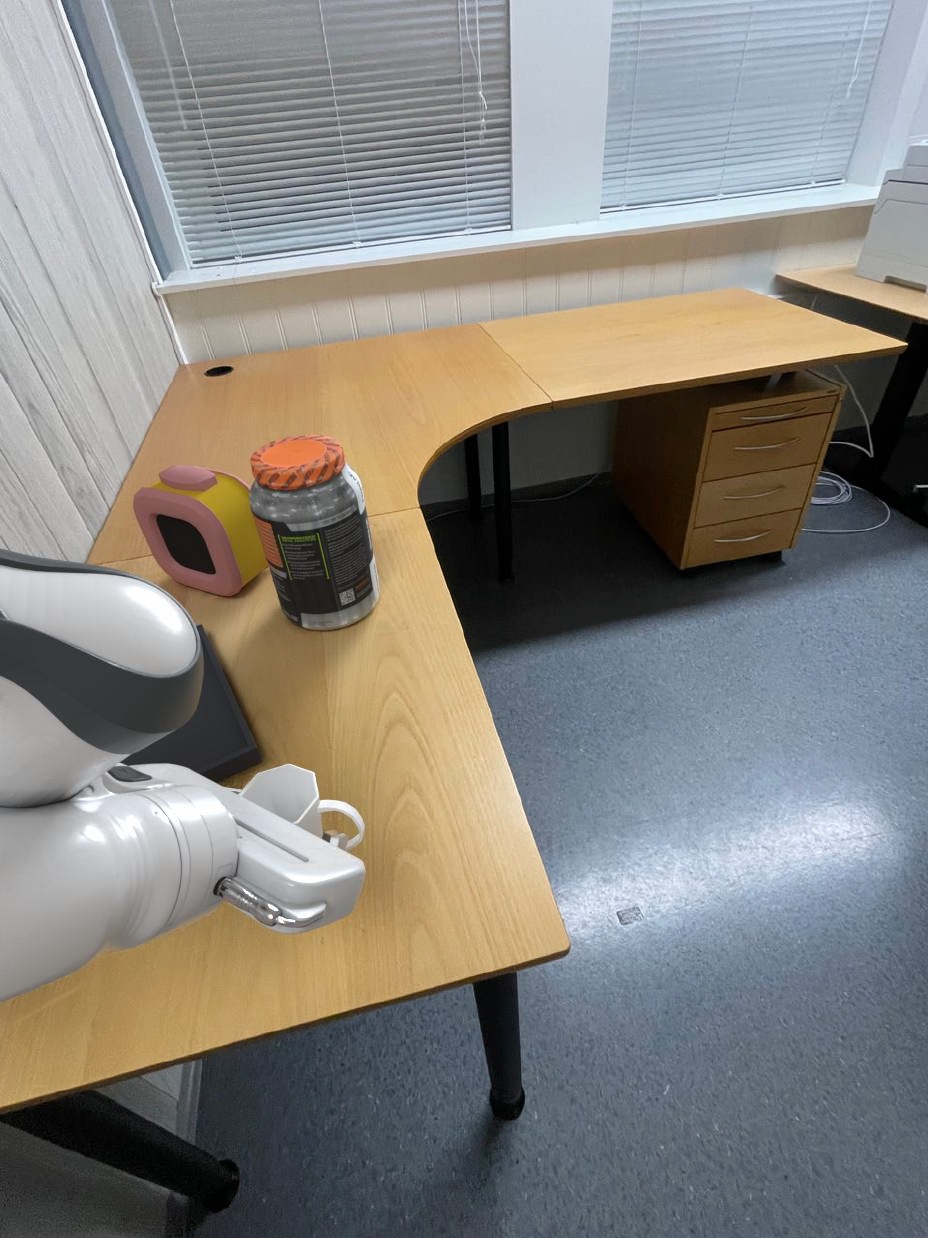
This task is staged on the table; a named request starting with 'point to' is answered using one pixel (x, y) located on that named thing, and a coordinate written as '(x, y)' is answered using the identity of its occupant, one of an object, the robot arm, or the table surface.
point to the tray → (207, 731)
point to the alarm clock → (201, 528)
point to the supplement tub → (314, 531)
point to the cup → (297, 799)
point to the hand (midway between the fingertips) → (299, 820)
